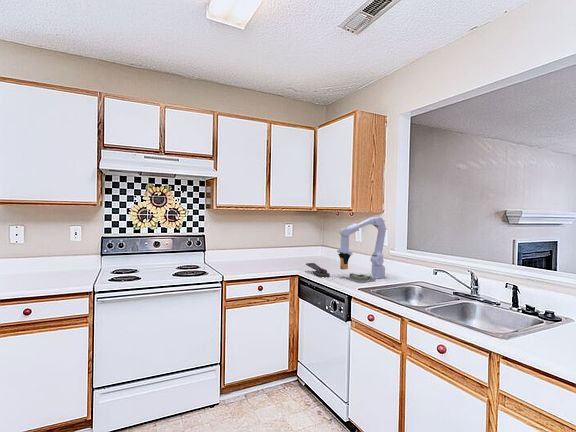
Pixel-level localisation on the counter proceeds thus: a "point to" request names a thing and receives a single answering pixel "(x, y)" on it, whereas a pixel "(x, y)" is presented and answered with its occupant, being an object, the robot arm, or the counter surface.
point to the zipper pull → (318, 270)
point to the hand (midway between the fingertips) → (344, 263)
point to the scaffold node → (360, 278)
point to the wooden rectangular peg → (342, 265)
